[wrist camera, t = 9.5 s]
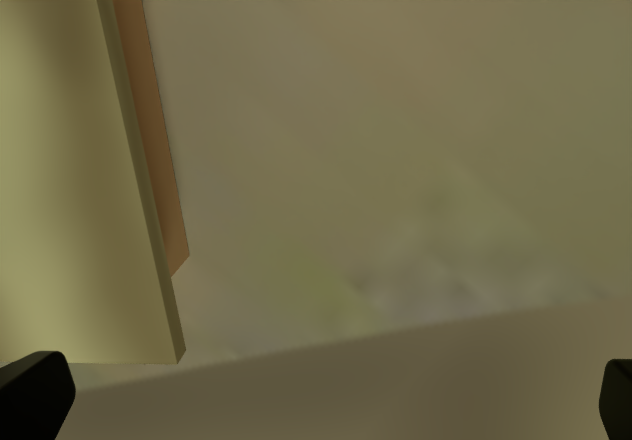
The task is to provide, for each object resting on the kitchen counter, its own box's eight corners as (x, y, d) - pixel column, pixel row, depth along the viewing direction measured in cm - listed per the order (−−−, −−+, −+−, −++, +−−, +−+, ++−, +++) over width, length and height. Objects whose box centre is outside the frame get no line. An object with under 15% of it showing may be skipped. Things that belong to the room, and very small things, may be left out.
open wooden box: (139, -14, 17) (51, -32, 12) (189, 255, 21) (137, 317, 16) (-119, 12, 18) (-283, 3, 14) (-26, 258, 22) (-129, 315, 18)
